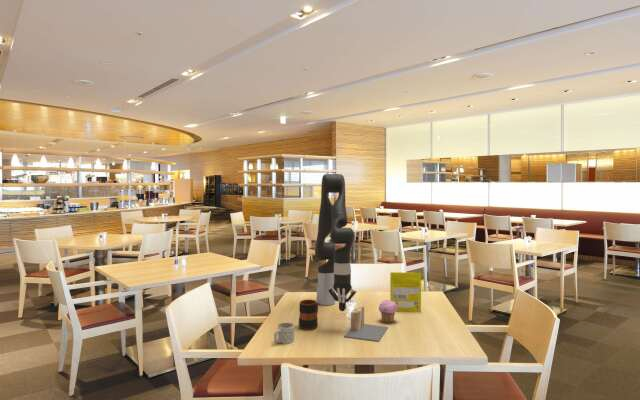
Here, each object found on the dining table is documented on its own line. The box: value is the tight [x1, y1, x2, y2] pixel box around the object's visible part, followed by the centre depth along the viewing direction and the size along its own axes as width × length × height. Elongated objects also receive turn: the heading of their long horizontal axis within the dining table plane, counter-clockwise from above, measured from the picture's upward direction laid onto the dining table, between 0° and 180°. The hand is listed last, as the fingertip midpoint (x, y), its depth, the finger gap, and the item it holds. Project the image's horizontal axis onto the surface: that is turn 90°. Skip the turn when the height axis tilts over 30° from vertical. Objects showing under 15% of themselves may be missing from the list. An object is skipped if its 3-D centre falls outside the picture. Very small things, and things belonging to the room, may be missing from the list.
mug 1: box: [273, 322, 295, 345], centre depth 179 cm, size 10×7×7 cm
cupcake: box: [378, 299, 398, 323], centre depth 204 cm, size 9×9×10 cm
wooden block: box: [350, 305, 365, 331], centre depth 195 cm, size 3×8×10 cm
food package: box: [389, 271, 422, 313], centre depth 219 cm, size 15×1×20 cm, turn 84°
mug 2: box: [298, 299, 319, 331], centre depth 198 cm, size 9×12×12 cm
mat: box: [343, 323, 389, 343], centre depth 190 cm, size 15×18×1 cm
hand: (342, 310), depth 193 cm, fingers closed
